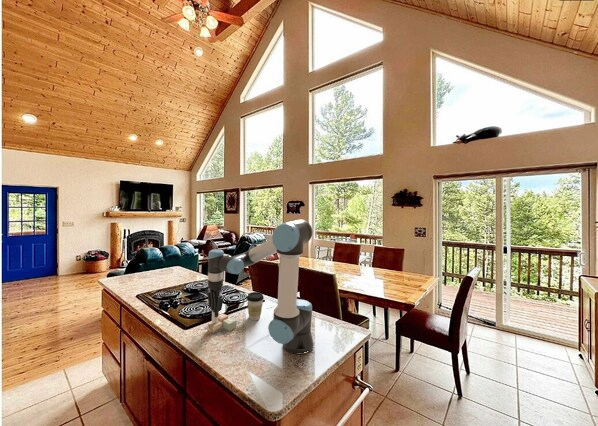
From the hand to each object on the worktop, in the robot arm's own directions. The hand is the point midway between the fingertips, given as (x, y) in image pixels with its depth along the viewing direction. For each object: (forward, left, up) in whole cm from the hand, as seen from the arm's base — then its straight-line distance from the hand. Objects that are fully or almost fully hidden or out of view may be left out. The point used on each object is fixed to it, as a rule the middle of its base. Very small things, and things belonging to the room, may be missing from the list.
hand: (214, 321), depth 152 cm
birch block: (0, 0, -5) cm, 5 cm away
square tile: (0, -4, -6) cm, 7 cm away
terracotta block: (+3, -7, -5) cm, 9 cm away
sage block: (-4, -7, -5) cm, 9 cm away
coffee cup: (-6, -24, -6) cm, 25 cm away
